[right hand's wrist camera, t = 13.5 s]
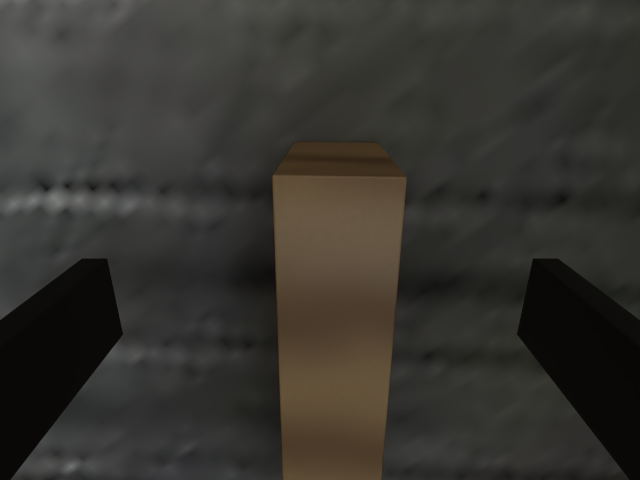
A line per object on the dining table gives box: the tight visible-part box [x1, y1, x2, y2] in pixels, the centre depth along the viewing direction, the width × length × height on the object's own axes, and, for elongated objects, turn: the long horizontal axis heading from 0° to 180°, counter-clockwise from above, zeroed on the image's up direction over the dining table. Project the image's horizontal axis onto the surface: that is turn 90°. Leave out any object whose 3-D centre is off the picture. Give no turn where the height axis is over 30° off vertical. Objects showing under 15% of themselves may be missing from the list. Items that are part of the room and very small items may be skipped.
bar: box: [272, 142, 407, 480], centre depth 23 cm, size 24×5×9 cm, turn 0°
